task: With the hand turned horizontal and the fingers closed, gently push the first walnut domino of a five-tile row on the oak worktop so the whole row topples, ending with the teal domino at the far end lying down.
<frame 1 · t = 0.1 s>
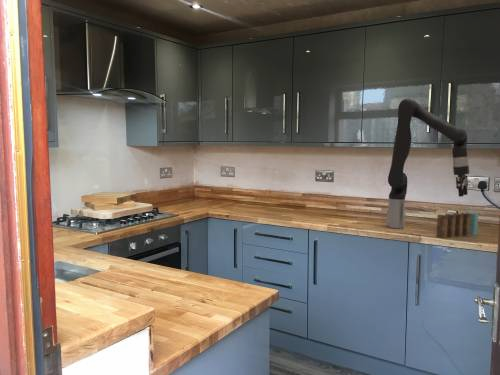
hand: (463, 195, 224), 22 cm above the worktop, tool pointing down, fingers open, 8 cm apart
domino 5: (471, 234, 232), on the worktop
domino 4: (464, 235, 230), on the worktop
domino 1: (441, 237, 224), on the worktop
domino 2: (449, 236, 226), on the worktop
medicine bottle: (451, 231, 241), on the worktop
domino 3: (456, 235, 228), on the worktop
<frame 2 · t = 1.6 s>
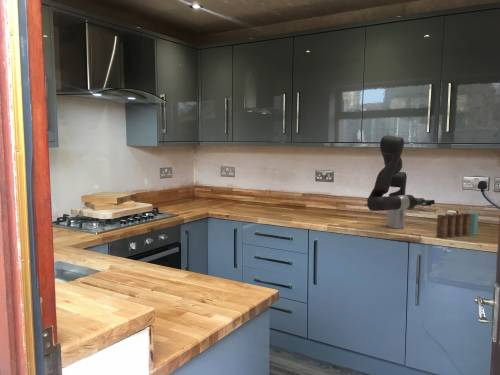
hand: (428, 201, 217), 20 cm above the worktop, tool horizontal, fingers open, 7 cm apart
nothing on the worktop moved.
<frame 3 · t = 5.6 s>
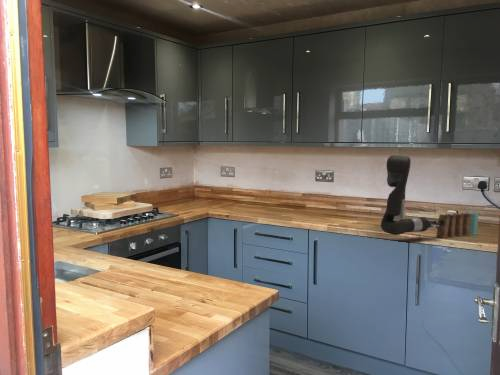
hand: (442, 222, 223), 8 cm above the worktop, tool horizontal, fingers closed
domino 1: (441, 237, 224), on the worktop, tilted 7°
everything else where it was.
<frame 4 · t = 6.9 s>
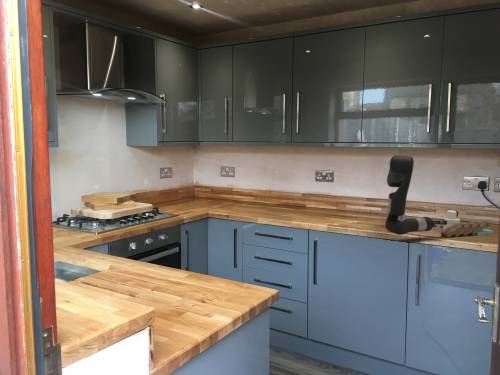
hand: (445, 222, 224), 8 cm above the worktop, tool horizontal, fingers closed
domino 5: (473, 233, 232), on the worktop, tilted 90°, touching domino 4
domino 4: (469, 232, 231), point 1 cm above the worktop, tilted 68°, touching domino 5
domino 1: (444, 234, 224), point 1 cm above the worktop, tilted 68°
domino 2: (452, 234, 226), point 1 cm above the worktop, tilted 68°, touching domino 3
domino 3: (460, 233, 228), point 1 cm above the worktop, tilted 68°, touching domino 2
everything else where it was.
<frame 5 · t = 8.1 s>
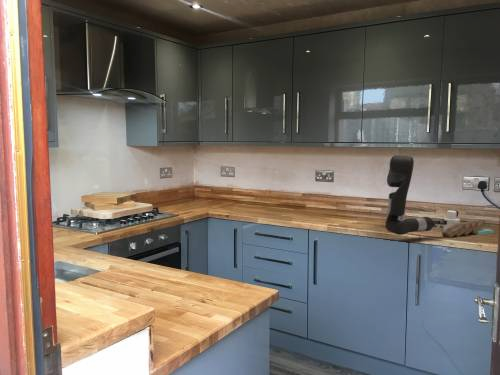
hand: (445, 222, 224), 8 cm above the worktop, tool horizontal, fingers closed
domino 5: (474, 232, 233), on the worktop, tilted 90°
domino 4: (469, 231, 232), point 2 cm above the worktop, tilted 69°
domino 1: (446, 235, 224), point 1 cm above the worktop, tilted 68°, touching domino 2
domino 2: (453, 234, 226), point 1 cm above the worktop, tilted 68°, touching domino 1, domino 3
domino 3: (461, 233, 229), point 1 cm above the worktop, tilted 68°, touching domino 2
everything else where it was.
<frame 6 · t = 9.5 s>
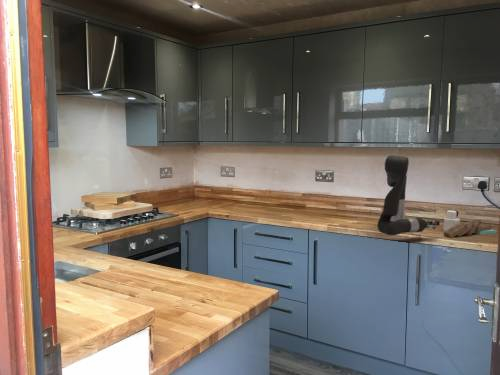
hand: (438, 223, 222), 8 cm above the worktop, tool horizontal, fingers closed
domino 5: (476, 232, 234), on the worktop, tilted 90°
domino 4: (474, 228, 233), point 3 cm above the worktop, tilted 90°
domino 1: (447, 235, 224), point 1 cm above the worktop, tilted 69°, touching domino 2
domino 2: (455, 234, 227), point 1 cm above the worktop, tilted 69°, touching domino 1, domino 3
domino 3: (465, 232, 230), point 1 cm above the worktop, tilted 62°, touching domino 2
everything else where it was.
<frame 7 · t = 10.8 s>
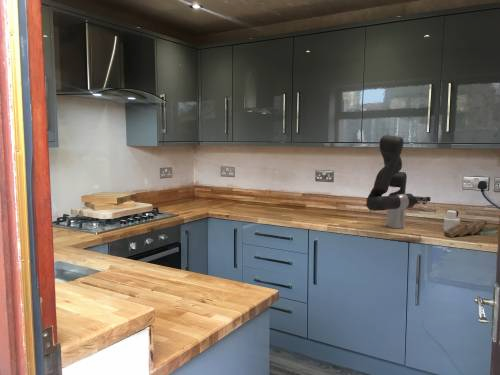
hand: (429, 198, 218), 21 cm above the worktop, tool horizontal, fingers closed
domino 5: (477, 232, 234), on the worktop, tilted 90°, touching domino 4
domino 4: (480, 229, 233), point 2 cm above the worktop, tilted 90°, touching domino 5
domino 1: (448, 234, 225), point 1 cm above the worktop, tilted 70°, touching domino 2
domino 3: (467, 232, 231), point 1 cm above the worktop, tilted 63°, touching domino 2
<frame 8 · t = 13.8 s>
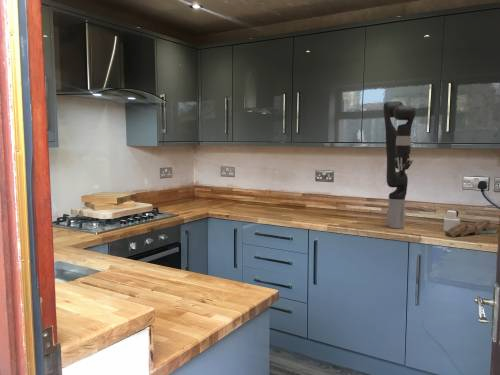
hand: (401, 177, 222), 32 cm above the worktop, tool pointing down, fingers closed
domino 5: (475, 232, 236), on the worktop, tilted 90°, touching domino 4
domino 4: (483, 228, 235), point 2 cm above the worktop, tilted 90°, touching domino 3, domino 5
domino 1: (449, 234, 225), point 1 cm above the worktop, tilted 70°, touching domino 2
domino 2: (457, 233, 228), point 1 cm above the worktop, tilted 78°, touching domino 1
domino 3: (471, 232, 233), point 1 cm above the worktop, tilted 65°, touching domino 4
everything else where it was.
at the end: domino 5 tilted 90°; domino 1 tilted 70° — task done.
